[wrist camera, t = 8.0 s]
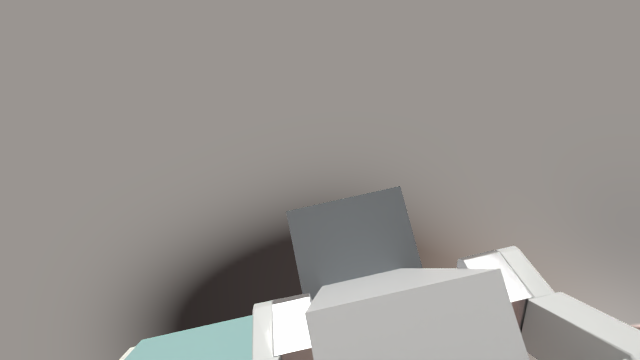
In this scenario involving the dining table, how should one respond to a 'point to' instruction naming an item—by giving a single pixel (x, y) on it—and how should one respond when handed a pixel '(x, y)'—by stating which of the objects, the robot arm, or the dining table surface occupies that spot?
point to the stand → (199, 343)
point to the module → (393, 289)
